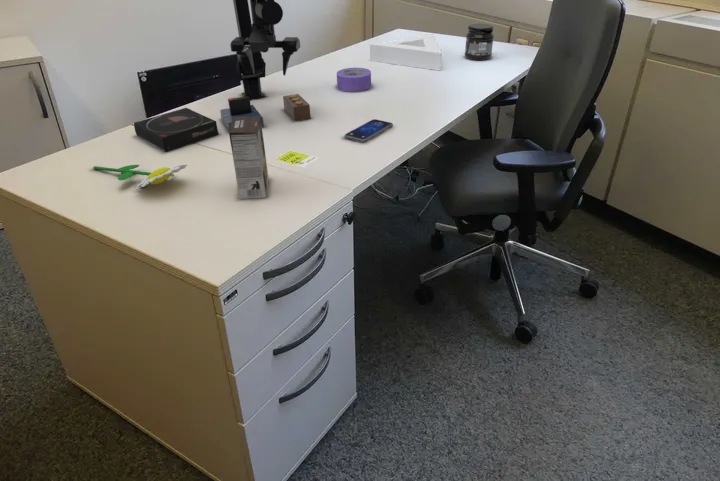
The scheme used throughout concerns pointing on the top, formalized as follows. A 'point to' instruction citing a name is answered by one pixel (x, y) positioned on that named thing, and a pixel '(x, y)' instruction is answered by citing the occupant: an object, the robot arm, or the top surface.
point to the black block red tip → (239, 105)
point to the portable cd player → (176, 129)
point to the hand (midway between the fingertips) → (268, 75)
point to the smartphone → (368, 130)
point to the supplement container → (479, 41)
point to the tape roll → (353, 79)
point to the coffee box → (249, 157)
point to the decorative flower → (152, 178)
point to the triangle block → (408, 52)
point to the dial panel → (227, 116)
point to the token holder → (296, 107)
